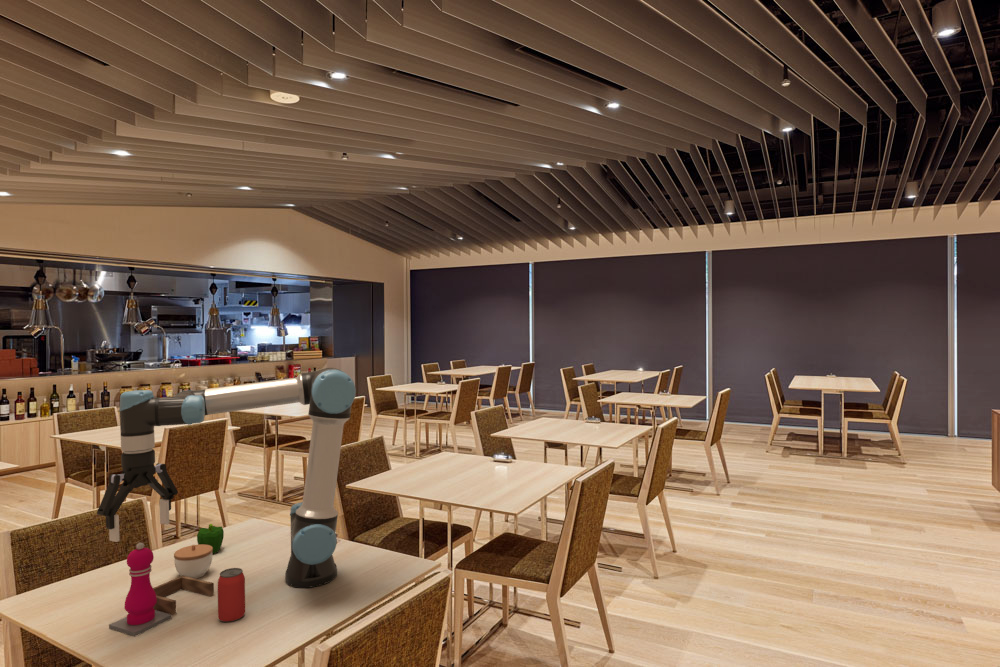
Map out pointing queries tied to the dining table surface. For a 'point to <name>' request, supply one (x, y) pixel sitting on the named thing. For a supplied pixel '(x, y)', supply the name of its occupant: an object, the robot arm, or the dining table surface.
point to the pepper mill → (140, 587)
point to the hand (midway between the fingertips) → (140, 532)
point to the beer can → (231, 595)
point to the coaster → (138, 629)
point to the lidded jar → (193, 560)
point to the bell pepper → (211, 537)
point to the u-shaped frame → (176, 585)
